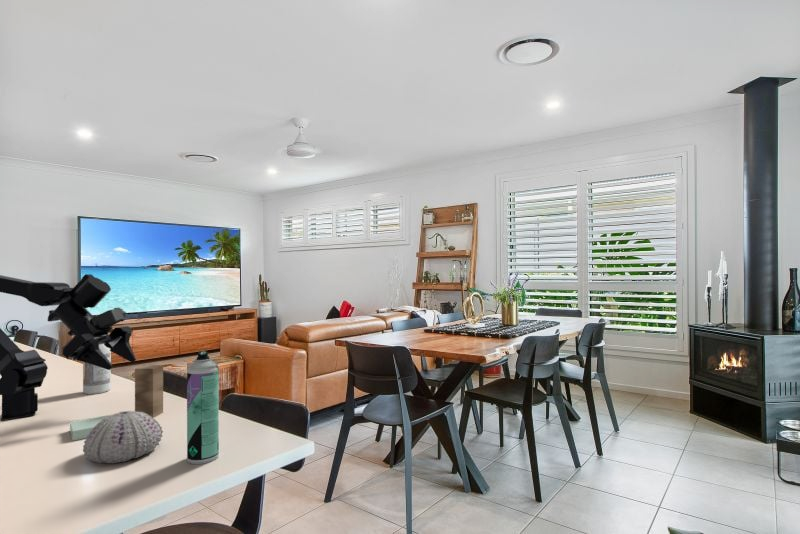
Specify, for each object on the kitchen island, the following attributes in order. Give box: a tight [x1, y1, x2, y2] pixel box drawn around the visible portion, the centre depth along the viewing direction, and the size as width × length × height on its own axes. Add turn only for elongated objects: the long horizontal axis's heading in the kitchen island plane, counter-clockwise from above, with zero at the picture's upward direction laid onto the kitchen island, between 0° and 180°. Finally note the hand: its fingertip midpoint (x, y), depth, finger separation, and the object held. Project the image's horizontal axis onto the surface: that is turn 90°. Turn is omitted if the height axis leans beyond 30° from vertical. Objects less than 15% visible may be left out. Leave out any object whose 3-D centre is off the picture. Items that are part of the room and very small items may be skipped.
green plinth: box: [69, 414, 111, 442], centre depth 100 cm, size 8×8×2 cm
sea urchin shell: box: [82, 410, 164, 464], centre depth 88 cm, size 13×14×8 cm
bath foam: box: [82, 344, 112, 395], centre depth 136 cm, size 7×7×20 cm
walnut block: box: [134, 364, 164, 419], centre depth 112 cm, size 4×4×12 cm
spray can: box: [186, 351, 220, 465], centre depth 85 cm, size 6×6×20 cm
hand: (123, 364), depth 112 cm, fingers open, 9 cm apart
